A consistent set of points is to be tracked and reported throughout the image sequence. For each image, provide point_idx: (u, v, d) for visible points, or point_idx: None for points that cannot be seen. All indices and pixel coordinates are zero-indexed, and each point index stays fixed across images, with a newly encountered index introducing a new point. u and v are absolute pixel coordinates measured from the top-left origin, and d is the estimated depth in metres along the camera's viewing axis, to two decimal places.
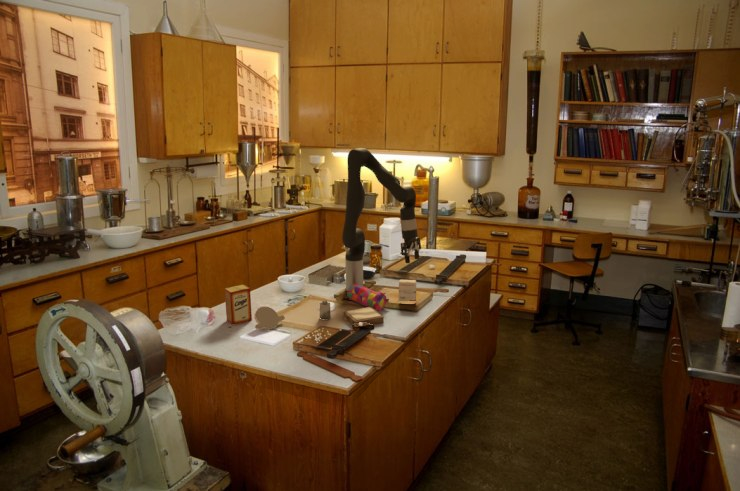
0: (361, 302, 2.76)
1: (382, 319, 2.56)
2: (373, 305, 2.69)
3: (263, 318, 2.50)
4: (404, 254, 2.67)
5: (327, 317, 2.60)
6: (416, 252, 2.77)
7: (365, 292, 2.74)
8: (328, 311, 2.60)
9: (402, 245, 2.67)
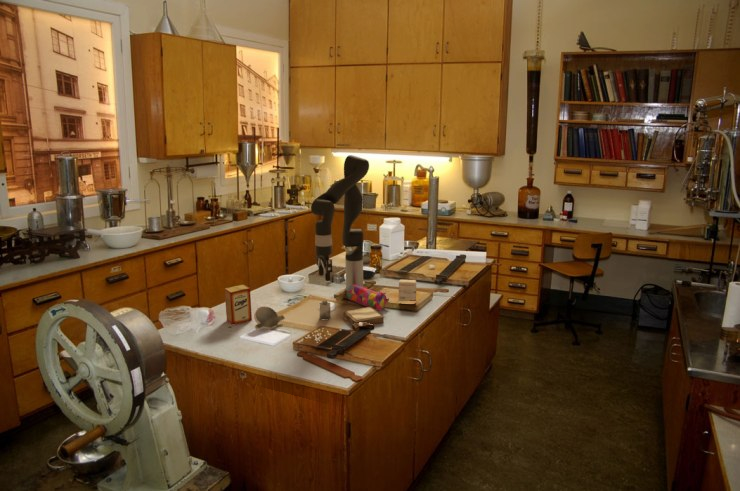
0: (361, 302, 2.76)
1: (382, 319, 2.56)
2: (374, 305, 2.69)
3: (263, 318, 2.50)
4: (317, 263, 2.62)
5: (327, 317, 2.60)
6: None
7: (365, 292, 2.74)
8: (328, 311, 2.60)
9: None
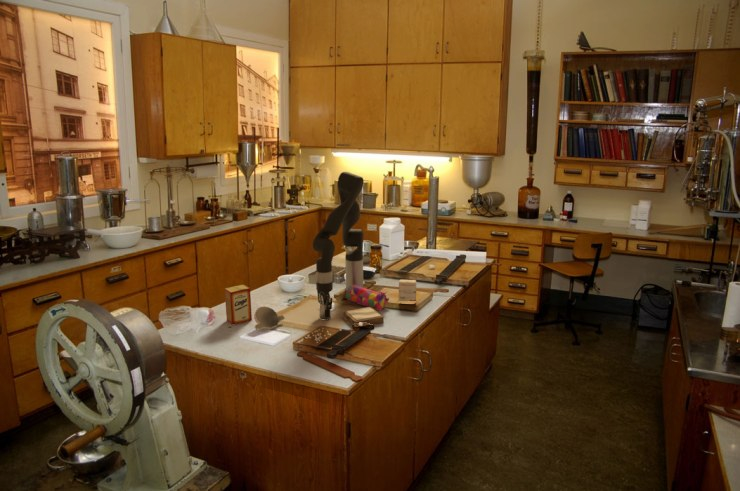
0: (361, 302, 2.75)
1: (382, 319, 2.56)
2: (374, 305, 2.70)
3: (263, 318, 2.50)
4: (319, 301, 2.66)
5: (327, 317, 2.60)
6: None
7: (365, 292, 2.74)
8: None
9: None
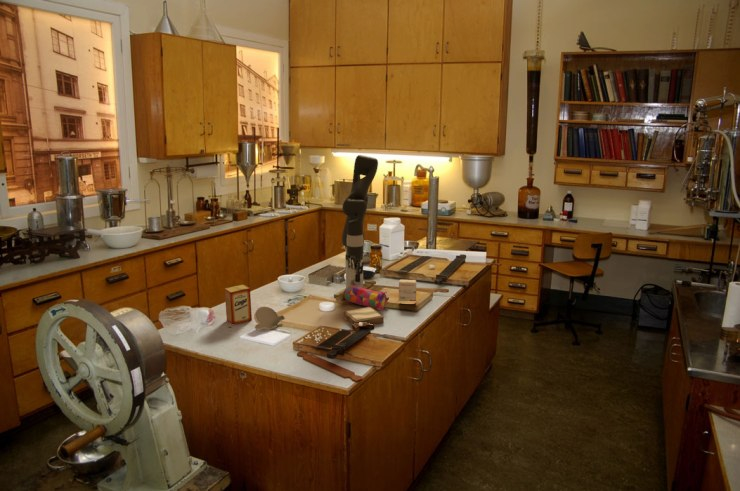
0: (361, 303, 2.75)
1: (382, 319, 2.56)
2: (376, 305, 2.70)
3: (263, 318, 2.50)
4: (349, 267, 2.59)
5: (357, 282, 2.53)
6: None
7: (365, 292, 2.74)
8: None
9: None
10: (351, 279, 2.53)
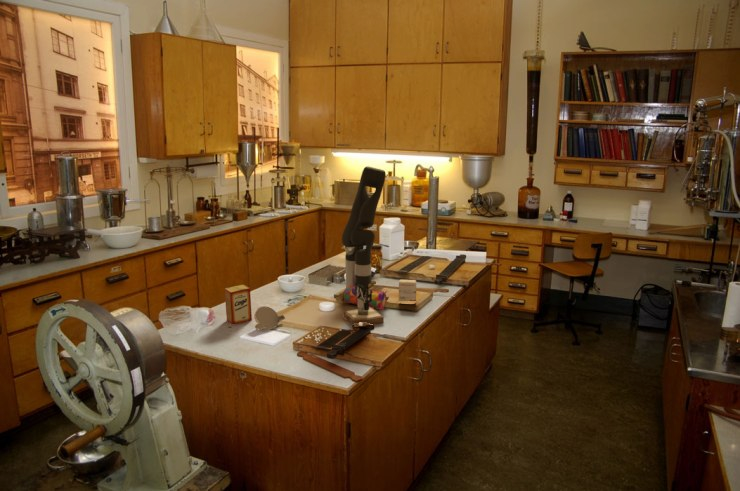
0: None
1: (382, 319, 2.56)
2: (377, 305, 2.70)
3: (263, 318, 2.50)
4: None
5: (365, 312, 2.57)
6: None
7: None
8: None
9: None
10: (359, 309, 2.57)
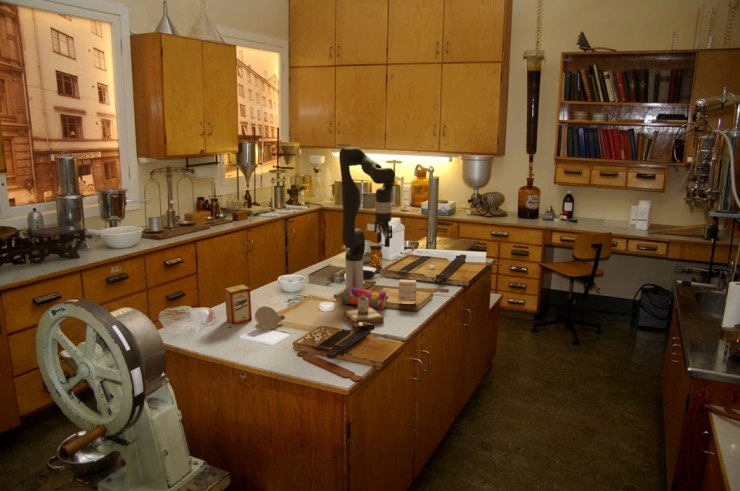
0: None
1: (382, 319, 2.56)
2: (378, 304, 2.70)
3: (263, 318, 2.50)
4: None
5: (365, 312, 2.57)
6: None
7: (366, 293, 2.73)
8: (366, 306, 2.57)
9: None
10: (359, 309, 2.57)
